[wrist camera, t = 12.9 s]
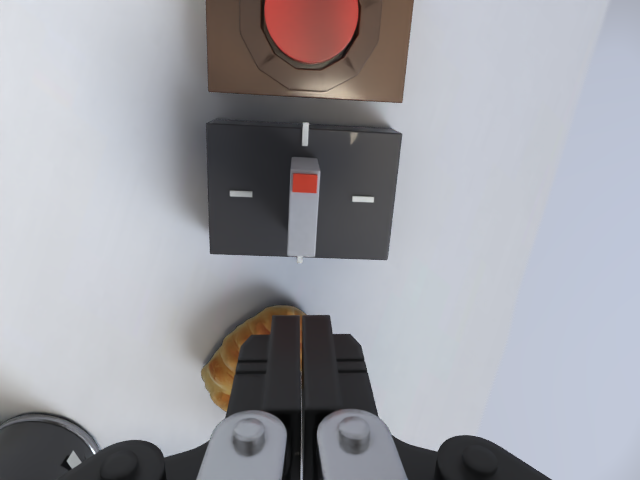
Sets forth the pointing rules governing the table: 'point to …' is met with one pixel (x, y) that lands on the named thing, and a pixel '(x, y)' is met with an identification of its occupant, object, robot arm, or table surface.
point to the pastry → (226, 357)
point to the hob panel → (274, 187)
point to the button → (311, 27)
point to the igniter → (308, 79)
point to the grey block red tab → (303, 206)
